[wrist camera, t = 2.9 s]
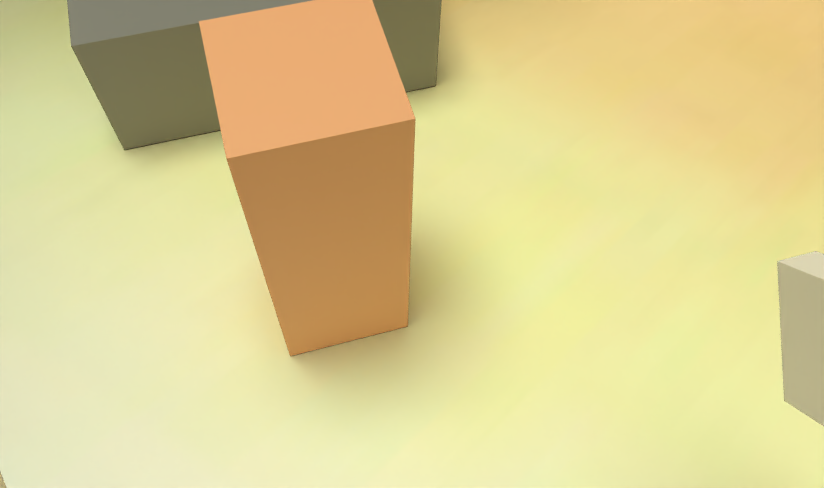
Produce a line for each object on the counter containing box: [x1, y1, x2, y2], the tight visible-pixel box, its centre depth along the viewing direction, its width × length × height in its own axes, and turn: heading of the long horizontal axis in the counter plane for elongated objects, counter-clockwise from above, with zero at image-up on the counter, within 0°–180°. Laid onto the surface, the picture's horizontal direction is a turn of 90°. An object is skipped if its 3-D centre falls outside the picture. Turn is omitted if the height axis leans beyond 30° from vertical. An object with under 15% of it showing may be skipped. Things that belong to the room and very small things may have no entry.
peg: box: [199, 0, 415, 356], centre depth 24 cm, size 4×4×12 cm
